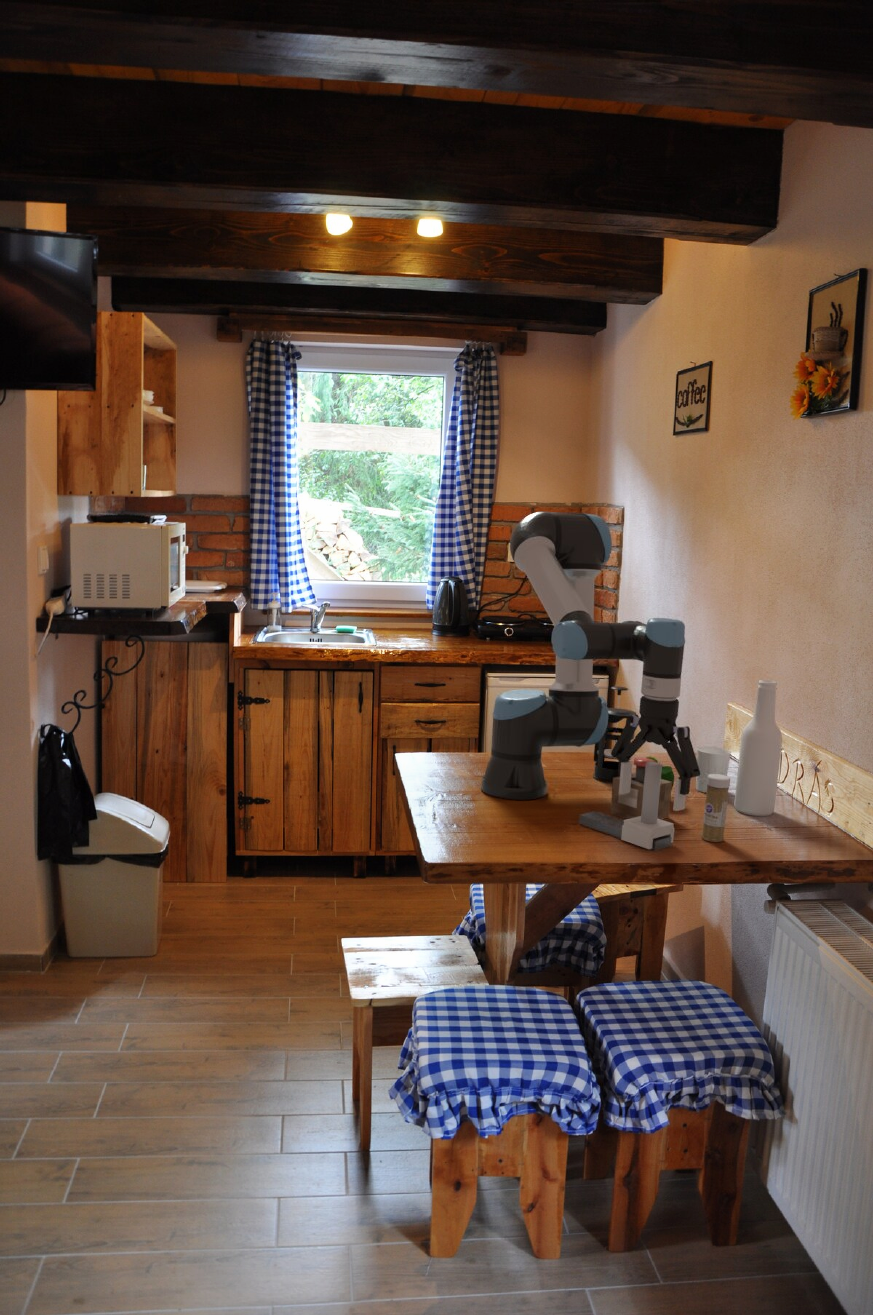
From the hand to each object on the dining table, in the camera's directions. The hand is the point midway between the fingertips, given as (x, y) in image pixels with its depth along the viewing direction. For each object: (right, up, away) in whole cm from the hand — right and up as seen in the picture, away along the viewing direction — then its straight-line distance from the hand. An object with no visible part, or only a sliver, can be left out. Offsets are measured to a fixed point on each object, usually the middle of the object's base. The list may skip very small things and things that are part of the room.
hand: (651, 801), depth 215 cm
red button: (+2, -1, +20) cm, 20 cm away
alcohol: (+29, -6, +28) cm, 41 cm away
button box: (+1, -6, +20) cm, 21 cm away
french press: (0, -1, +51) cm, 51 cm away
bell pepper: (+7, -4, +33) cm, 34 cm away
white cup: (+23, -3, +44) cm, 50 cm away
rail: (-4, -8, +6) cm, 11 cm away
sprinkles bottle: (+14, -9, +6) cm, 18 cm away
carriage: (-1, -9, +2) cm, 9 cm away
